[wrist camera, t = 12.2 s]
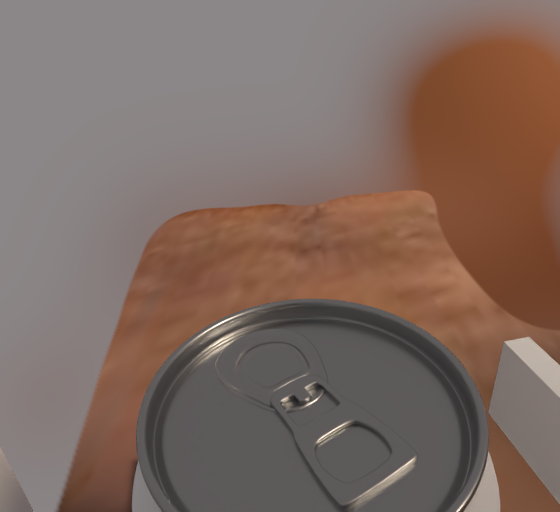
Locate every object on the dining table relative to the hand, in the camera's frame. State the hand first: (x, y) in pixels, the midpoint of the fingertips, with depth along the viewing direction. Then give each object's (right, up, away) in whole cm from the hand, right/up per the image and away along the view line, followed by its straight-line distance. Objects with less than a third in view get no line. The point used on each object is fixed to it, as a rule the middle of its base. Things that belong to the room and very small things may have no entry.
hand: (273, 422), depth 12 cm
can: (+1, -9, +1) cm, 9 cm away
